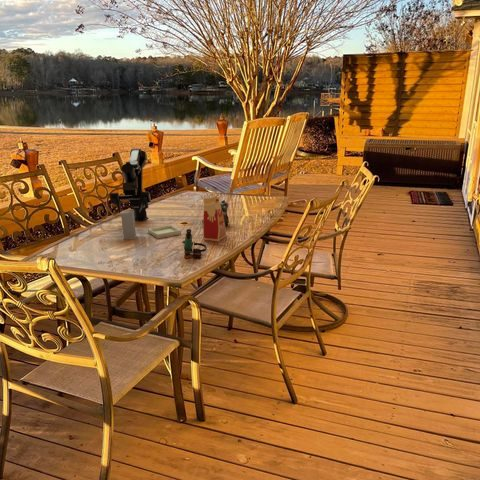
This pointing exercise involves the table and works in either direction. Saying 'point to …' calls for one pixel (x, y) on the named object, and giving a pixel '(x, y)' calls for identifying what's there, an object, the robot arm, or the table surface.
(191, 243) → the binoculars
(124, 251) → the table surface
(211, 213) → the milk carton
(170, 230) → the tray
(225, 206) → the lucky cat figurine
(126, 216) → the post
